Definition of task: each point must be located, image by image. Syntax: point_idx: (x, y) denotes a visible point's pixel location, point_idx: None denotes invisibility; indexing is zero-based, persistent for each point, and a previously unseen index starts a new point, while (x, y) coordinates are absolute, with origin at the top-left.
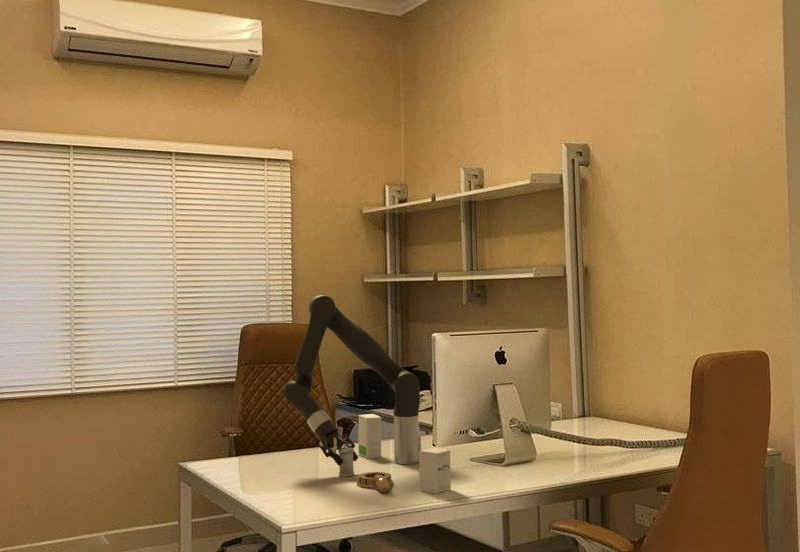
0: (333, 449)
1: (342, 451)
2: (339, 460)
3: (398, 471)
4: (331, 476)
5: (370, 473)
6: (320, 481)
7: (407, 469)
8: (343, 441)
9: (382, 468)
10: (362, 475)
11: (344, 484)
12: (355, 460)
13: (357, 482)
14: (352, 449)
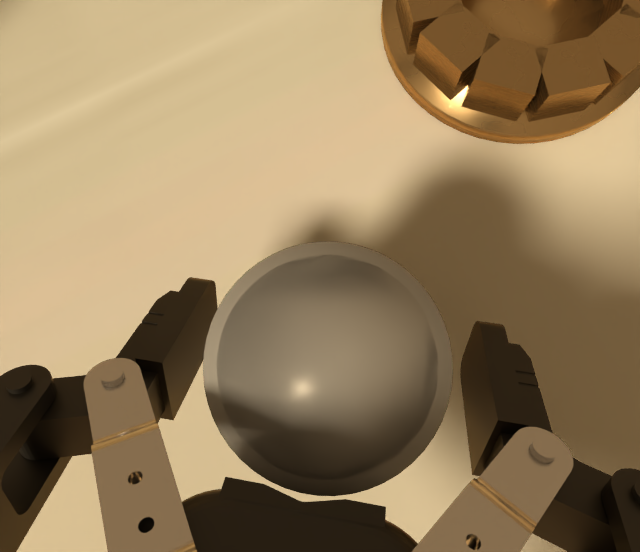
0: (549, 501)
1: (449, 359)
2: (513, 357)
3: (82, 52)
4: (417, 467)
5: (489, 30)
6: (627, 463)
7: (4, 25)
8: (167, 511)
9: (13, 206)
10: (589, 53)
11: (628, 214)
12: (213, 310)
13: (610, 104)
14: (302, 261)
